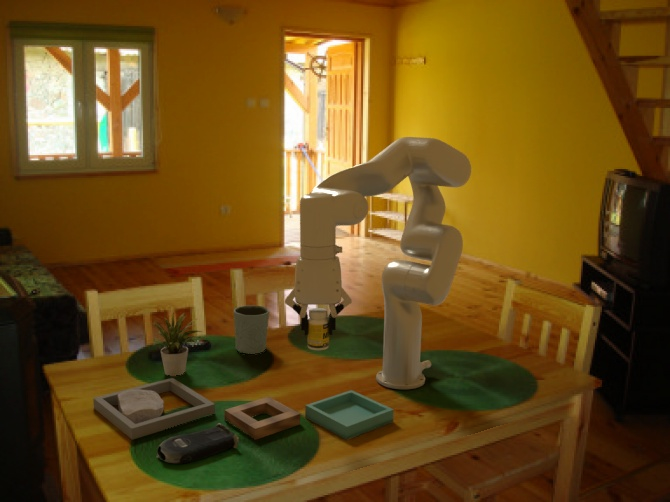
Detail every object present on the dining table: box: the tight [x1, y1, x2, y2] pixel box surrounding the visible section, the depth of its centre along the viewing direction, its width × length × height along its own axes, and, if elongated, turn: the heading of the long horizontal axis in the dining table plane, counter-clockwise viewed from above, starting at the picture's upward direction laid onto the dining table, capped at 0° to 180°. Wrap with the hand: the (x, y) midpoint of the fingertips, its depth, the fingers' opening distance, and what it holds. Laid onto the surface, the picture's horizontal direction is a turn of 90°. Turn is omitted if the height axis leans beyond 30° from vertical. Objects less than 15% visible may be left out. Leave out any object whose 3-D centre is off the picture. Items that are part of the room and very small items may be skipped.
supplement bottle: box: [307, 307, 330, 351], centre depth 153 cm, size 5×5×8 cm
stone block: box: [117, 389, 165, 424], centre depth 158 cm, size 12×5×10 cm
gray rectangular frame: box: [92, 377, 216, 440], centre depth 159 cm, size 20×20×2 cm
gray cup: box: [233, 304, 270, 355], centre depth 200 cm, size 10×10×12 cm
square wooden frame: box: [224, 396, 301, 441], centre depth 155 cm, size 12×12×2 cm
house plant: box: [145, 311, 204, 377], centre depth 180 cm, size 14×14×16 cm
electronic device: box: [156, 422, 240, 465], centre depth 142 cm, size 9×6×15 cm
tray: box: [304, 389, 394, 441], centre depth 157 cm, size 14×14×3 cm
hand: (318, 332), depth 153 cm, fingers closed on supplement bottle, 4 cm apart
